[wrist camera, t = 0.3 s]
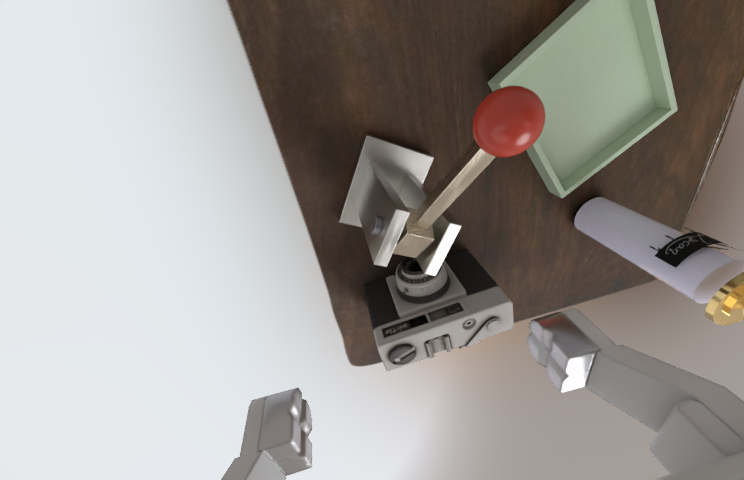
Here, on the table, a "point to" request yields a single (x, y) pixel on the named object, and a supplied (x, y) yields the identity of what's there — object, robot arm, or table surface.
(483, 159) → the lever
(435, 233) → the bracket
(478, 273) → the camera
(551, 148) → the tray
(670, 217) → the table surface
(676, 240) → the perfume bottle
